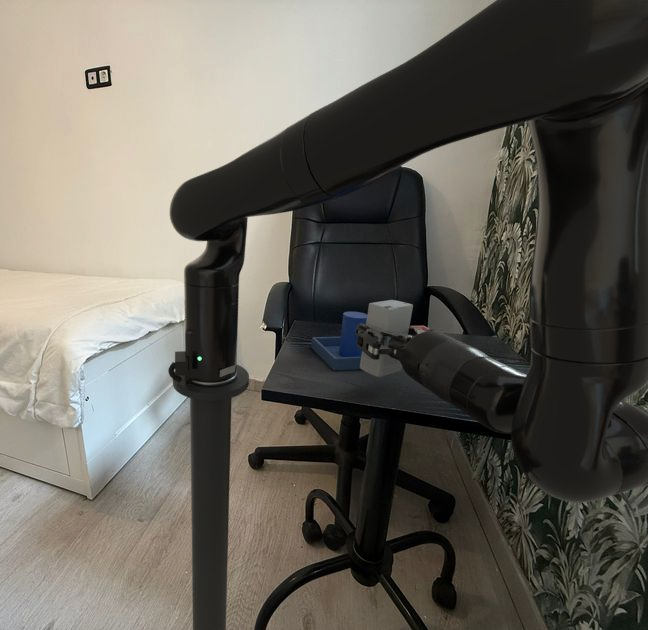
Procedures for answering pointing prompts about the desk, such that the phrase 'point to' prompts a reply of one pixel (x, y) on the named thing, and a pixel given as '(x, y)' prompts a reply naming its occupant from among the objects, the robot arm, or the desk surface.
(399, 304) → the cosmetic box
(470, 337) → the desk surface
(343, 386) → the desk surface
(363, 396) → the desk surface
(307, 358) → the desk surface
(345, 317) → the blue canister
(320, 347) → the blue tray
